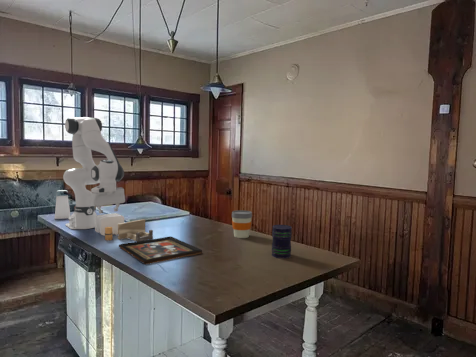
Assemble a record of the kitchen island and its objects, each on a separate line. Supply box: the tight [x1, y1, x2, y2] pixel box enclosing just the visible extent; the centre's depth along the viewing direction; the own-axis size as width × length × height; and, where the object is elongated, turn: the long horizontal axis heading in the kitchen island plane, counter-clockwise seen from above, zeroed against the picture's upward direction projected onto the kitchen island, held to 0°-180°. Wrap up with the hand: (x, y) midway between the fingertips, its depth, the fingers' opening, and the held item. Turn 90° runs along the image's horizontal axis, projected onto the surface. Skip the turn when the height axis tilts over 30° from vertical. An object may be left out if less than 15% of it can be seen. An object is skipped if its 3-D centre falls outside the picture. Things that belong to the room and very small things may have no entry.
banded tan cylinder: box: [104, 227, 114, 241], centre depth 207 cm, size 4×4×7 cm
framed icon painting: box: [118, 236, 203, 265], centre depth 188 cm, size 38×35×3 cm
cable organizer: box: [94, 213, 125, 237], centre depth 220 cm, size 15×11×12 cm
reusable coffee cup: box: [231, 209, 253, 239], centre depth 219 cm, size 13×13×15 cm
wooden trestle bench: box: [117, 218, 154, 242], centre depth 210 cm, size 14×18×9 cm
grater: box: [54, 189, 72, 220], centre depth 265 cm, size 10×10×20 cm
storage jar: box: [271, 224, 293, 259], centre depth 182 cm, size 10×10×15 cm
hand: (108, 212), depth 205 cm, fingers open, 8 cm apart
